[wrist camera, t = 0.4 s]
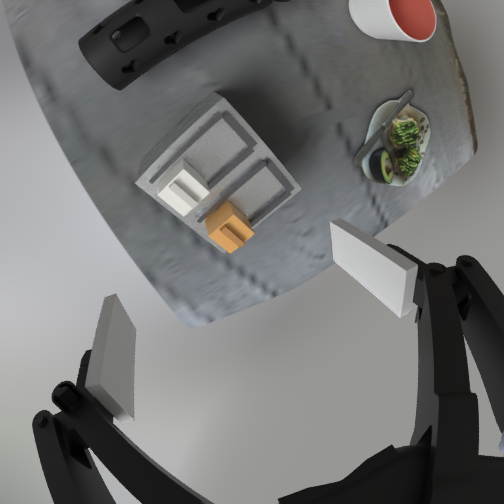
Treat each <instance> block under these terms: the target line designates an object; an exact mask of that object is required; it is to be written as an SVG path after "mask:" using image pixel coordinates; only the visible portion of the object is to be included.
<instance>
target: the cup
mask: <svg viewBox="0 0 504 504" xmlns="http://www.w3.org/2000/svg"><path fill="white" fill-rule="evenodd" d="M349 11H350V15H351V17H352V19H353V21H354V22H355V24H356V25H357V26H358V28H359V29H360V30H362V31H363V32H364V33H365V34H367V35H369V36H371V37H373V38H377V39H390V40H403V41H414V42H425V41H427V40H429V39H430V38H431V37H432V36H433V34H434V32H435V29H436V14H435V10H434V7H433V5H432V3H431V1H430V0H349Z"/></svg>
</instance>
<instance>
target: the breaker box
mask: <svg viewBox="0 0 504 504" xmlns="http://www.w3.org/2000/svg"><path fill="white" fill-rule="evenodd" d="M182 158H183V159H184V160H185V161H186V162H187V163H188V164H189V165H190V166H191V167H192V168H194V169H195V170H196V171H197V172H198V173H199V174H200V175H201V176H202V177H203V178H204V179H205V180H206V181H207V185H208V188H209V191H210V193H209V194H208V195H207V196H206V197H205V198H203V199H202V200H201V201H200V202H199V203H198V205H197V206H196V207H195V208H193V209H192V210H191V211H189V212H188V213H187V214H186V215H185V216H184V217H183V216H182V215H181V214H180V213H178V212H177V211H176V210H175V209H174V208H172V207H171V206H170V205H169V204H167V203H166V202H165V201H164V200H162V199H161V198H160V197H159V196H157V191H158V182H159V181H160V180H161V179H162V178H163V177H164V176H165V175H166V174H167V173H168V172H169V171H170V170H171V169H172V168H173V167H174V166H175V165H176V164H177V163H178V162H179V161H180V160H181V159H182ZM135 183H136V184H137V185H138V186H139V187H140V188H142V189H143V190H144V191H145V192H147V193H148V194H149V195H150V196H152V197H153V198H154V199H155V200H157V201H158V202H159V203H160V204H162V205H163V206H164V207H165V208H167V209H168V210H169V211H170V212H172V213H173V214H174V215H176V216H177V217H178V218H179V219H181V220H182V221H183V222H184V223H186V224H187V225H188V226H189V227H191V228H192V229H193V230H195V231H196V232H197V233H198V234H200V235H201V236H202V237H203V238H205V239H206V240H207V241H209V242H210V243H211V244H212V245H214V246H215V247H216V248H218V249H219V250H220V251H221V252H223V253H225V252H226V250H225V249H224V248H222V247H221V246H220V245H219V244H217V243H216V242H215V241H214V240H212V239H211V238H210V237H209V236H208V233H207V228H206V224H205V220H207V219H208V218H209V217H210V216H211V215H212V214H213V213H214V212H215V211H217V210H218V209H219V208H220V207H221V206H222V205H223V204H225V203H226V202H227V201H229V202H230V203H231V204H232V205H233V206H234V207H236V208H237V209H238V210H239V211H240V212H241V213H242V214H243V215H244V216H245V217H246V218H247V219H248V221H249V223H250V225H251V227H252V229H254V228H255V227H256V226H257V225H259V224H260V223H261V222H262V221H263V220H265V219H266V218H267V217H268V216H269V215H271V214H272V213H273V212H274V211H276V210H277V209H278V208H279V207H280V206H282V205H283V204H284V203H285V202H286V201H288V200H289V199H290V198H291V197H293V196H294V195H295V194H296V193H298V192H299V191H300V190H301V187H300V186H299V185H298V184H297V182H296V181H295V180H294V179H293V177H292V176H291V175H290V174H289V172H288V171H287V170H286V169H285V167H284V166H283V165H282V164H281V162H280V161H279V160H278V159H277V158H276V156H275V155H274V154H273V153H272V151H271V150H270V149H269V148H268V147H267V146H266V144H265V143H264V142H263V141H262V140H261V138H260V137H259V136H258V135H257V134H256V133H255V132H254V130H253V129H252V128H251V127H250V126H249V125H248V124H247V122H246V121H245V120H244V119H243V118H242V117H241V116H240V115H239V113H238V112H237V111H236V110H235V109H234V108H233V107H232V106H231V105H230V104H229V102H228V101H227V100H226V99H225V98H224V97H222V96H221V95H219V94H217V93H216V92H213V93H212V94H211V95H209V96H208V97H207V98H206V99H205V100H204V101H202V102H201V103H200V104H199V105H198V106H197V107H196V108H195V109H193V110H192V111H191V112H190V113H189V114H188V115H187V116H186V117H185V118H184V119H183V120H181V121H180V122H179V123H178V124H177V125H176V126H175V127H174V128H173V129H172V130H171V131H170V132H169V133H168V134H167V135H166V136H165V137H164V138H163V139H162V140H161V141H160V142H159V143H158V144H157V145H156V146H155V147H154V148H153V149H152V150H151V151H150V152H149V153H148V154H147V155H146V156H145V158H144V159H143V160H142V161H141V163H140V167H139V170H138V174H137V177H136V181H135Z"/></svg>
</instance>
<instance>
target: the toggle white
mask: <svg viewBox="0 0 504 504" xmlns="http://www.w3.org/2000/svg"><path fill="white" fill-rule="evenodd" d="M209 193H210V191H209V188H208V185H207V181H206V180H205V179H204V178H203V177H202V176H201V175H200V174H199V173H198V172H197V171H196V170H195V169H194V168H192V167H191V166H190V165H189V164H188V163H187V162H186V161H185V160H184V159H183V158H182V159H181V160H180V161H179V162H178V163H177V164H176V165H175V166H174V167H173V168H172V169H171V170H170V171H169V172H168V173H167V174H166V175H165V176H164V177H163V178H162V179H161V180H160V181H159V182H158V191H157V196H159V197H160V198H161V199H162V200H164V201H165V202H166V203H167V204H169V205H170V206H171V207H172V208H174V209H175V210H176V211H177V212H178V213H180V214H181V215H182V216H183V217H184V216H185V215H186V214H187V213H188V212H189V211H191V210H192V209H193V208H195V207H196V206H197V205H198V203H199V202H200V201H201V200H202V199H203V198H205V197H206V196H207V195H208V194H209Z"/></svg>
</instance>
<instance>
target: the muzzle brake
mask: <svg viewBox="0 0 504 504" xmlns="http://www.w3.org/2000/svg"><path fill="white" fill-rule="evenodd" d="M274 1H277V2H286V1H290V0H274ZM272 2H273V0H132V1H130V2H128V3H127V4H125V5H124V6H122V7H121V8H119V9H118V10H117V11H115V12H114V13H112V14H111V15H110V16H108V17H107V18H105V19H104V20H103V21H102V22H100V23H99V24H98V25H96V26H95V27H94V28H93V29H91V30H90V31H89V32H88V33H86V34H85V35H84V36H83V37H82V38H80V39H79V42H78V44H79V48H80V50H81V52H82V54H83V55H84V57H85V58H86V60H87V61H88V63H89V64H90V65H91V66H92V68H93V69H94V70H95V71H96V72H97V73H98V75H99V76H100V77H101V78H102V79H103V80H104V81H106V82H107V83H108V84H109V85H110V86H112V87H113V88H115V89H117V90H123V89H124V88H125V87H126V86H128V85H129V84H130V83H132V82H133V81H134V80H135V79H137V78H138V77H139V76H141V74H143V73H145V72H146V71H148V70H149V69H151V68H152V67H154V66H155V65H157V64H158V63H160V62H161V61H163V60H164V59H166V58H167V57H169V56H170V55H172V54H173V53H175V52H176V51H178V50H179V49H181V48H183V47H185V46H186V45H188V44H190V43H192V42H193V41H195V40H197V39H199V38H201V37H202V36H204V35H206V34H208V33H210V32H212V31H213V30H215V29H216V28H219V27H221V26H223V25H226V24H228V23H230V22H232V21H234V20H236V19H238V18H241V17H243V16H245V15H247V14H250V13H252V12H254V11H257V10H259V9H262V8H265V7H267V6H269V5H270V4H271V3H272ZM116 31H119V35H118V37H117V39H113V38H112V35H113V34H114V33H115V32H116Z"/></svg>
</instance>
